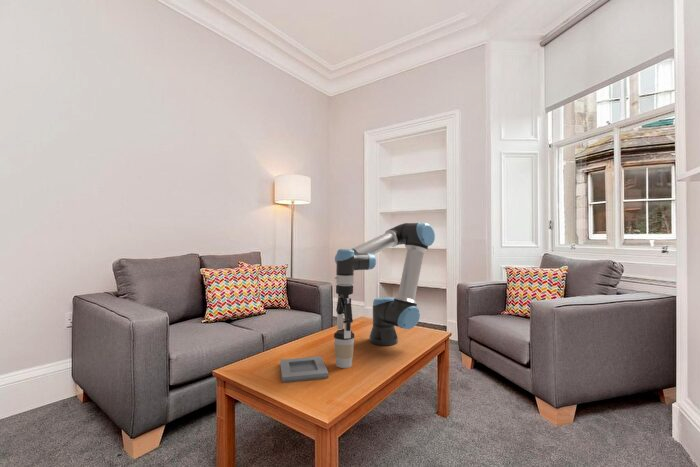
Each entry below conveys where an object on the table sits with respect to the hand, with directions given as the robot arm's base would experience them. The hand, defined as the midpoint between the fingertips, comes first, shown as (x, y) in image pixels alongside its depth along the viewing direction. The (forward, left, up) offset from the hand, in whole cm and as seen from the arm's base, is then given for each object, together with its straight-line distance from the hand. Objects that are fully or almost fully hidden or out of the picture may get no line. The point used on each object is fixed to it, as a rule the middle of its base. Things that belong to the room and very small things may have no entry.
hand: (343, 333), depth 144 cm
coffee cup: (0, 0, -14) cm, 14 cm away
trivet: (+18, +2, -14) cm, 23 cm away
